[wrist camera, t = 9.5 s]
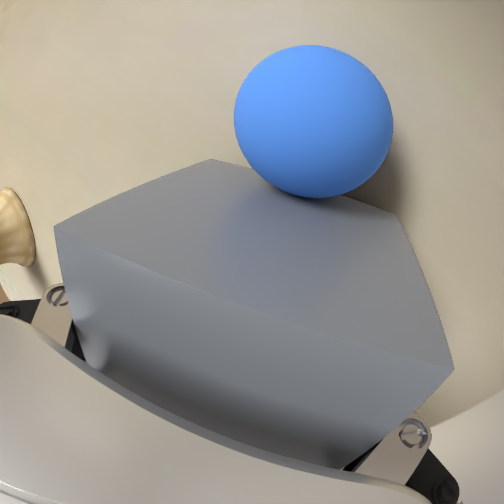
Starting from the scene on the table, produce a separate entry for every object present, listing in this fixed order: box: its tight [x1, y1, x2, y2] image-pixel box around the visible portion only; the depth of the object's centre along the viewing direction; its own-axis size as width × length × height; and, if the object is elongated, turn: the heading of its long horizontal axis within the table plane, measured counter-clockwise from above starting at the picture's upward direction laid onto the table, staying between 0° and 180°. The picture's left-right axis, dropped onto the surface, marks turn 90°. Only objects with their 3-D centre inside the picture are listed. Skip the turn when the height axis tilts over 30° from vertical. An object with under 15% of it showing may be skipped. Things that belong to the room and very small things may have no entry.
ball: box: [234, 45, 393, 198], centre depth 8 cm, size 5×5×5 cm
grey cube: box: [54, 159, 454, 470], centre depth 9 cm, size 8×8×8 cm
